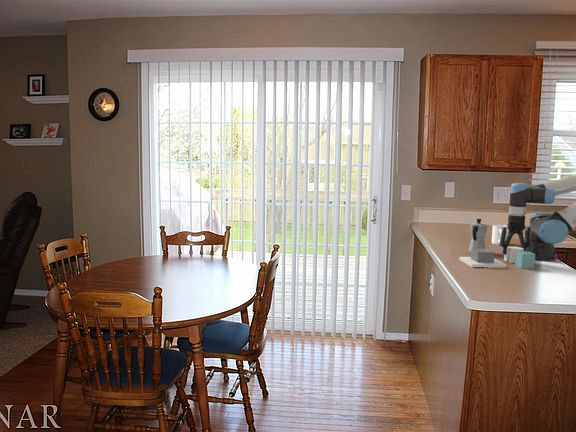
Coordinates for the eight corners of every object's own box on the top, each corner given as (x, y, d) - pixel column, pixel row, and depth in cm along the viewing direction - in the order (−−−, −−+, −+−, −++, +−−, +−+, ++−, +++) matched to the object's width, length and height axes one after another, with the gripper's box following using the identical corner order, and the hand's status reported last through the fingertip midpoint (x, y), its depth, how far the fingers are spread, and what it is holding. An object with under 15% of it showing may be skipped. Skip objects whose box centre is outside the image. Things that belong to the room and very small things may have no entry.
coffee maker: (471, 248, 272) (473, 216, 269) (488, 251, 267) (490, 218, 264) (463, 253, 260) (466, 219, 257) (481, 255, 255) (483, 221, 252)
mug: (492, 245, 282) (493, 227, 281) (491, 242, 293) (492, 224, 292) (508, 246, 279) (510, 228, 278) (506, 243, 291) (508, 225, 289)
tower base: (491, 260, 244) (492, 247, 243) (505, 267, 228) (506, 254, 228) (459, 259, 244) (460, 246, 243) (471, 267, 228) (472, 253, 227)
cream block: (516, 260, 245) (517, 246, 244) (522, 263, 239) (523, 249, 238) (504, 260, 245) (505, 246, 244) (510, 263, 239) (511, 248, 238)
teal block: (527, 265, 234) (528, 251, 233) (534, 268, 228) (535, 253, 227) (515, 265, 234) (516, 251, 233) (521, 268, 228) (522, 253, 227)
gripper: (533, 214, 243) (529, 259, 246) (493, 213, 242) (490, 259, 246) (541, 216, 235) (536, 262, 238) (500, 215, 235) (496, 262, 238)
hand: (513, 260), depth 242 cm, fingers open, 7 cm apart
